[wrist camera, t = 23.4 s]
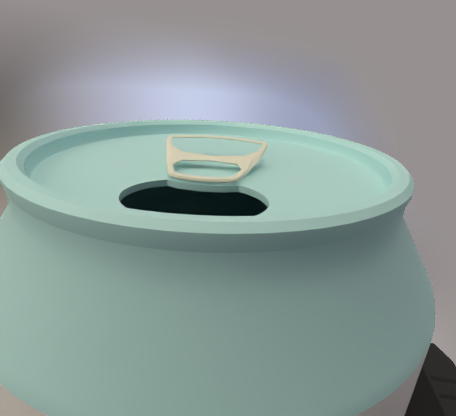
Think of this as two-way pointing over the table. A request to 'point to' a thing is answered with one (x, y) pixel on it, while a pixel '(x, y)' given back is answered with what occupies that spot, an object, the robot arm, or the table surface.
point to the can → (208, 274)
